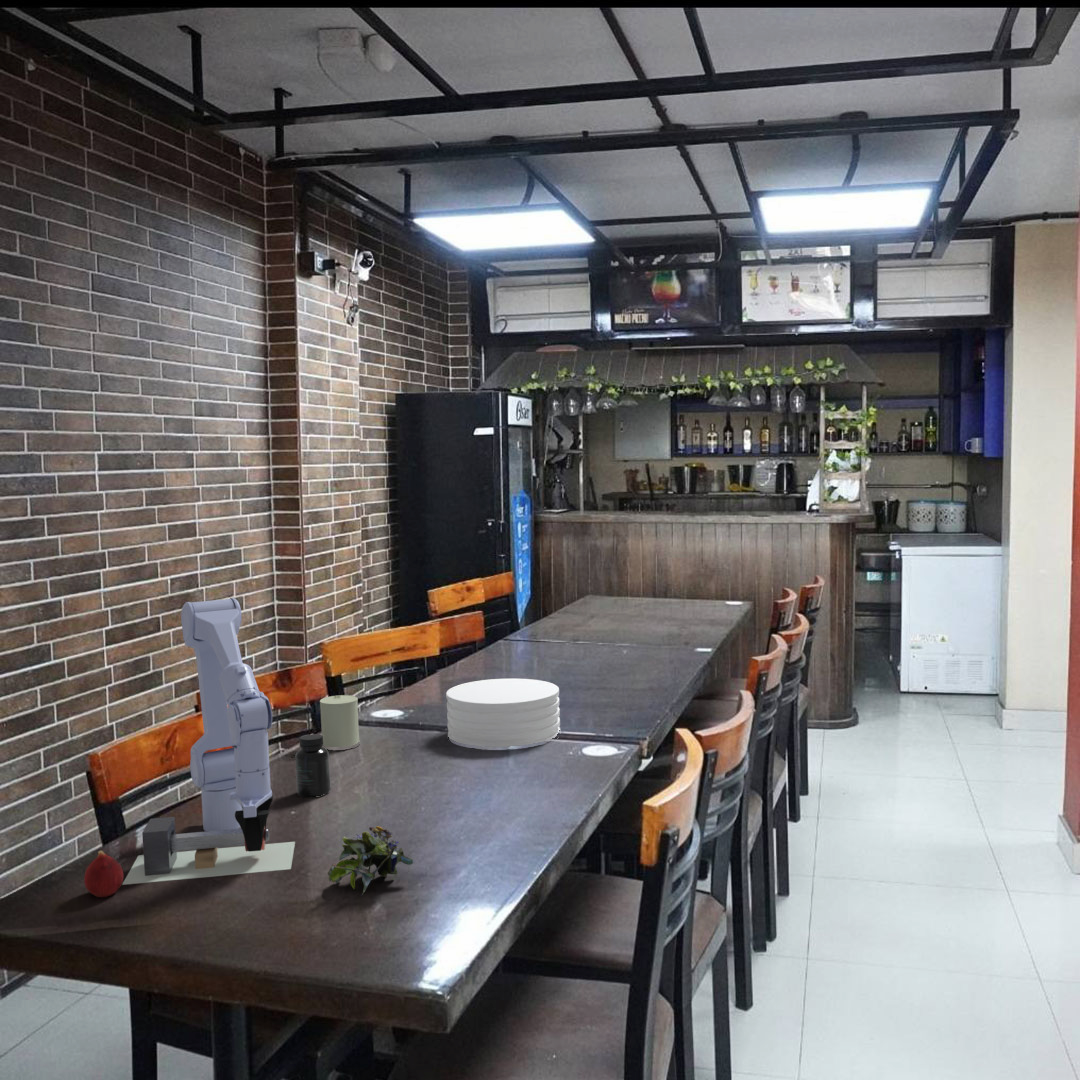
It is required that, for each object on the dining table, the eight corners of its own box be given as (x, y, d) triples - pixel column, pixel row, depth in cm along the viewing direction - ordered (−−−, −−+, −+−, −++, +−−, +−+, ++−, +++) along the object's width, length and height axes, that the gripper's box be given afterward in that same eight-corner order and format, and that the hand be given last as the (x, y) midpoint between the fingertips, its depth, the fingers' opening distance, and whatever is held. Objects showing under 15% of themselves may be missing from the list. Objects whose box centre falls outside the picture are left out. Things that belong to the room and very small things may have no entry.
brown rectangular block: (199, 858, 183) (199, 844, 183) (217, 856, 184) (216, 842, 184) (195, 868, 178) (194, 854, 178) (213, 867, 179) (213, 853, 179)
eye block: (152, 860, 183) (150, 818, 182) (176, 858, 184) (174, 816, 183) (144, 875, 176) (142, 832, 175) (169, 873, 177) (167, 830, 176)
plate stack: (582, 737, 259) (581, 691, 258) (485, 758, 243) (483, 709, 242) (520, 716, 282) (519, 673, 281) (428, 733, 266) (426, 689, 266)
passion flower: (383, 908, 175) (424, 849, 176) (363, 925, 165) (406, 862, 165) (331, 867, 178) (371, 808, 178) (307, 881, 167) (350, 818, 167)
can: (356, 739, 263) (354, 691, 262) (362, 748, 254) (360, 699, 253) (319, 743, 260) (317, 695, 259) (324, 752, 251) (321, 703, 250)
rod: (146, 854, 182) (144, 826, 181) (270, 843, 185) (269, 815, 185) (140, 865, 177) (138, 836, 176) (268, 853, 180) (266, 825, 180)
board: (138, 861, 185) (138, 855, 185) (295, 847, 190) (295, 841, 190) (122, 890, 173) (122, 884, 173) (291, 874, 177) (290, 868, 177)
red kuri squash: (129, 891, 172) (126, 843, 172) (117, 906, 167) (113, 857, 166) (93, 892, 172) (90, 845, 172) (79, 907, 166) (76, 858, 166)
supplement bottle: (314, 786, 226) (312, 731, 225) (337, 791, 222) (334, 735, 221) (290, 795, 220) (287, 738, 219) (312, 800, 216) (310, 743, 215)
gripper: (233, 757, 188) (237, 832, 189) (222, 782, 173) (227, 862, 174) (274, 754, 189) (277, 828, 190) (266, 778, 175) (271, 858, 176)
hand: (256, 844), depth 182 cm, fingers closed on rod, 5 cm apart
